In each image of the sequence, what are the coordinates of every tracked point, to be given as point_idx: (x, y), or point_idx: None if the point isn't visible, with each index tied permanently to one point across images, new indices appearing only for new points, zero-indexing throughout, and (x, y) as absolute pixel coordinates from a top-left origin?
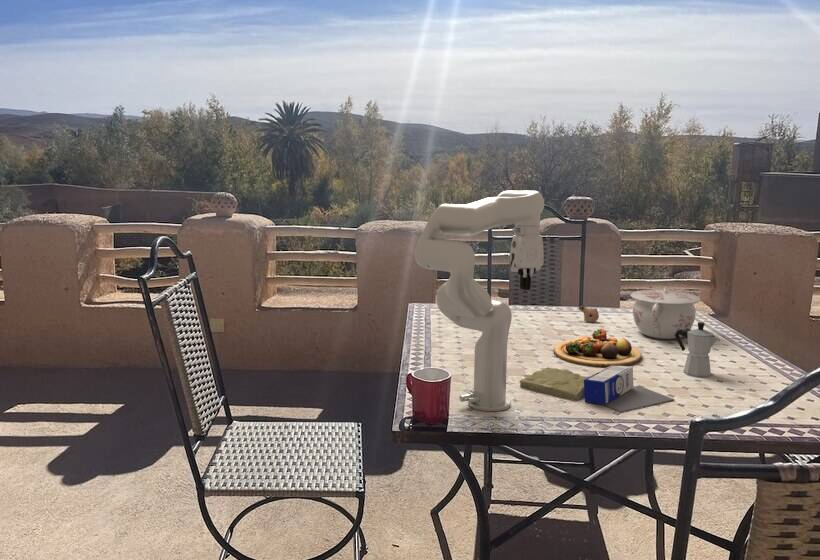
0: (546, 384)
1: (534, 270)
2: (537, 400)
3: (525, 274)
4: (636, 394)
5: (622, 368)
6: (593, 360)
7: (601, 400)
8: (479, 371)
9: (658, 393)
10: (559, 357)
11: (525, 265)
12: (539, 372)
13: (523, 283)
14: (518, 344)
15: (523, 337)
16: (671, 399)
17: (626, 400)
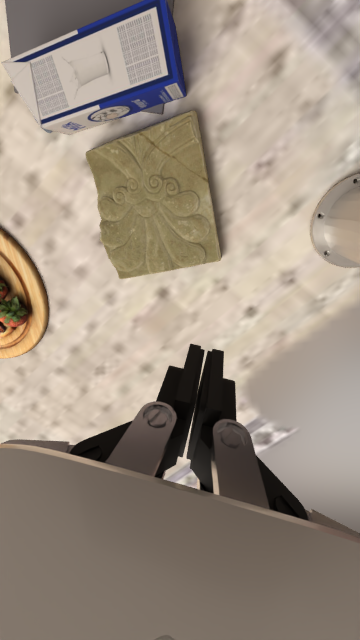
0: (201, 203)
1: (94, 449)
2: (261, 174)
3: (224, 447)
4: None
5: (32, 74)
6: (8, 262)
7: (175, 35)
8: None
9: (7, 12)
10: (47, 319)
11: (334, 579)
12: (160, 263)
13: (231, 395)
14: (62, 400)
15: (34, 414)
16: None
17: None
